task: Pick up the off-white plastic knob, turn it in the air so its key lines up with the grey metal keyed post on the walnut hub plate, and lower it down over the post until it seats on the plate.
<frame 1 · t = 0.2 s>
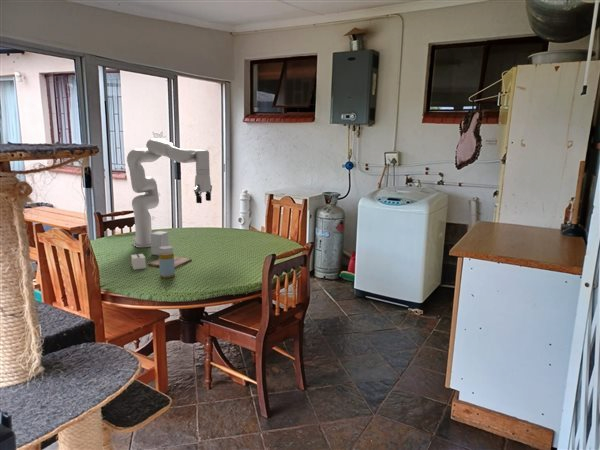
hand: (203, 201, 241), 31 cm above the table, fingers open, 9 cm apart
bottle: (167, 276, 207), on the table
supplement box: (160, 253, 246), on the table
hub plate: (170, 263, 228), on the table
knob: (138, 266, 221), on the table
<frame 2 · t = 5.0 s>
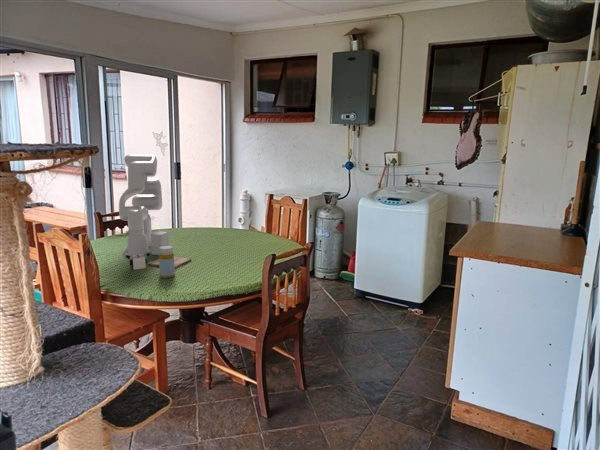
hand: (138, 265, 220), 1 cm above the table, fingers closed on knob, 5 cm apart
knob: (138, 266, 221), on the table, touching gripper
everything else where it was.
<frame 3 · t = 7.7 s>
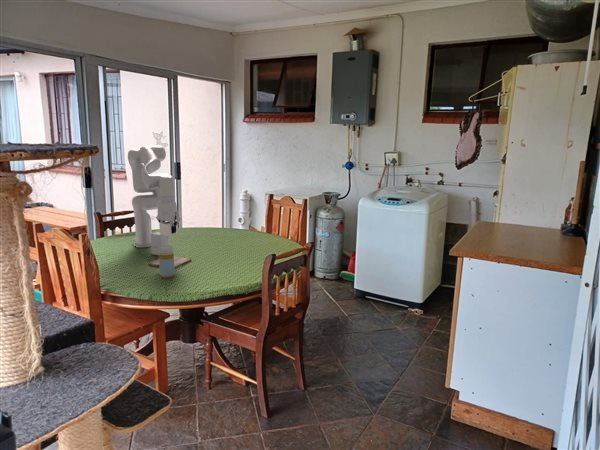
hand: (168, 232, 224), 17 cm above the table, fingers closed on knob, 5 cm apart
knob: (168, 233, 224), point 17 cm above the table, touching gripper
everything else where it was.
when the fingers open (4 cm above the table, at t = 10.4 s): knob drops 2 cm, resting on hub plate.
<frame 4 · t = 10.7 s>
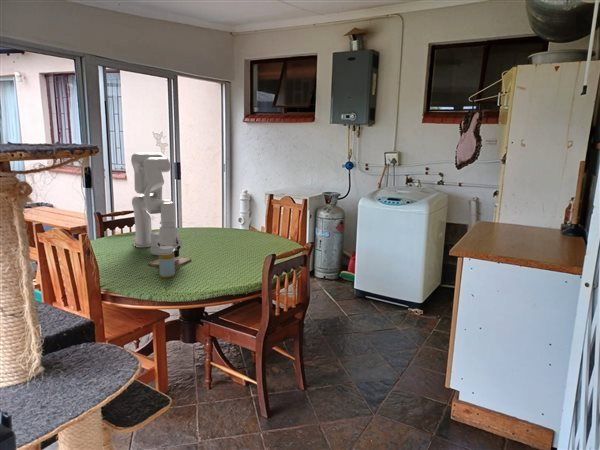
hand: (170, 255, 227), 4 cm above the table, fingers open, 8 cm apart
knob: (170, 260, 228), point 1 cm above the table, touching hub plate
everything else where it was.
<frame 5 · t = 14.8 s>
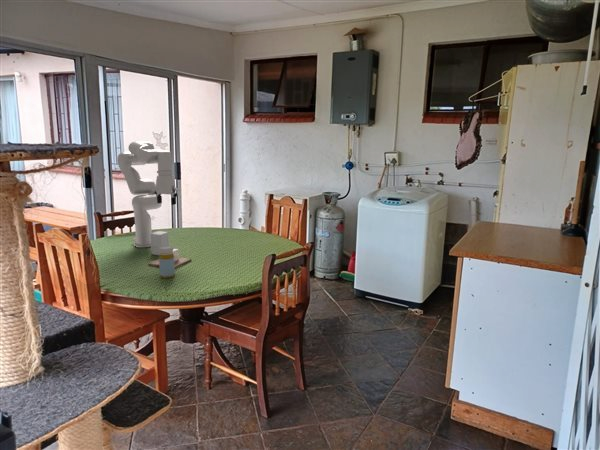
hand: (166, 203, 236), 30 cm above the table, fingers open, 9 cm apart
nothing on the table moved.
at the end: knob 0.0 cm off-centre on the hub plate, point 1.3 cm above the hub plate's base; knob tilted 0°; the gripper is holding nothing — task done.
